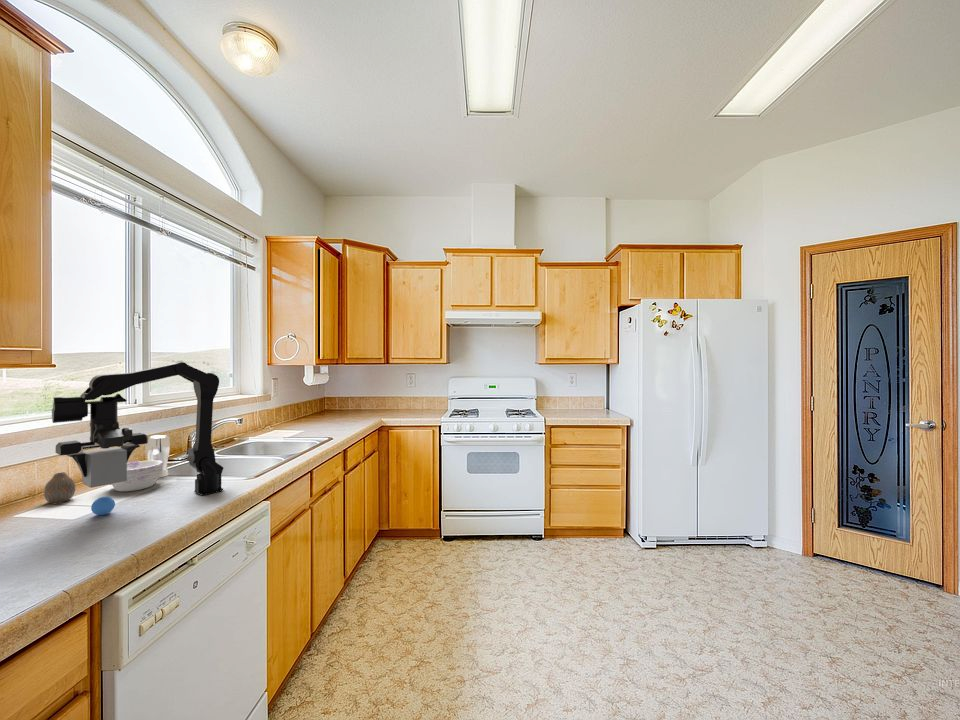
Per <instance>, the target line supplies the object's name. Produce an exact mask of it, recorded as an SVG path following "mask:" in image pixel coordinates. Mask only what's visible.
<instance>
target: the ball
mask: <svg viewBox="0 0 960 720" xmlns="http://www.w3.org/2000/svg"><path fill="white" fill-rule="evenodd" d="M115 506H116V502H115V499H114V498H112V497H111V496H101V497H98V498H97V499H95V500H94V501H93V502H92V504H91V506H90V508H91V512H92V513H93V514H94V515H97V516H105V515H107V514H109V513H111V512H112V511H113V510H114V508H115Z"/></svg>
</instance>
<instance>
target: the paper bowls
mask: <svg viewBox="0 0 960 720" xmlns="http://www.w3.org/2000/svg"><path fill="white" fill-rule="evenodd" d="M161 476H163V462H162V461H157V460H150V461H148V460H140V461H131V462H127V481H123V482H118V483H113V484H108V485H107V486H112V487H113V489H114V490H115V491H118V492H133V491H140V490H144V489H148V488H150V487H152V486H153V485H155V483H156V482H157V480H158V479H159V477H161ZM161 478H162V477H161Z"/></svg>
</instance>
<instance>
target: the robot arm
mask: <svg viewBox="0 0 960 720" xmlns="http://www.w3.org/2000/svg"><path fill="white" fill-rule="evenodd" d="M176 376H179V377H181V378H183V379H185V380H187V381H188V382H190V383H192V384H193V389H194V393H195V397H196V401H197V402H196V403H197V404H196V420H195V421H196V422H195V440H194V441H195V442H194V444H193V446H192V447H191V448H190V447H188V448H187V454H188V455H187V458H186V461H187V462H189V463H188V464H189V465H190V467H191V468H193V469H195V471H196V473H197V474H196V478H195V480H194V490H193V491H194V493H195V492H196V493H195V494H198V493H199V494H198V495H200V494H202V495H201V496H206V495H205V494H207V495H210V494H209V493H211V494H214V493H213V492H215V493H217V492H216V491H219V492H221V491H220V490H223V489H224V488H222V473H223V471H224V466H222V465H221V464H220V463H218V462H217V461H216V456H215V450H214V447H213V444H212V432H213V412H214V411H213V409H214V399H215V397H216V395H217V392H218V390H219V386H220V385H219V384H220V378H219V377H218V376H217V375H216V374H215V373H213V372H206V371H205V372H204V371H202V370H200V369H198V368H195V367H193V366H191V365H189V364H188V363H186V362H183V361H180V362H179V361H178V362H174V363H171V364H166V365H162V366H156V367H152V368H146V369H142V370H137V371H136V370H135V371H133V372H124V373H107V374H105V373H104V374H98V375H95V376H93V377H92V378H91V379H90V381H89V383H88V386H89V387H87V389H86V390H85V391H84V392H82V393H81V394H80V395H79V396H72V397H71V396H68V397H63V396H55V397H53V403H52V409H51V420H52V421H51V422H52V424H56V423H67V422H71V423H72V422H81V421H83V418H86V417H88V416H89V415H90V416H89V417H90V422H89V427H90V428H89V429H90V430H89V431H90V433H89V434H90V435H89V441H85V442H84V441H83V442H81V441H78V440H71V441H70V440H68V441H61V442H58V443H56V445H55V454H57V455H59V456H66V457H70V458H72V459H73V461H74V462H75V464H76V465H77V467H78V469H79V471H80V473H81V475H82V474H83V476H84V477H87V469H86V462H85V455H86V453H83V452H84V450H87V449H94V448H101V449H107V448H114V447H119V448H122V449H125V450H127V462H128V461H129V458H130V457H131V455H132V453H133V452H134V451H135V450H136V449H137V448H140V447H141V445H147V443H148V437H149V436H148V435H147V434H145V433H141V432H135V433H134V432H133V428H132V427H123V428H121V427H120V424H119V421H118V403H125V402H127V401H128V400H127V399H126V398H124V397H123V396H122V395H121V394H120V393H119V392H121V391H124V390H126V389H128V388H130V387H133V386H135V385H140V384H144V383H145V384H146V383H150V382H152V381H154V382H155V381H157V380H161V379H166V378H171V377H176ZM113 394H114V396H111V395H113ZM98 398H100V399H99V400H96V399H98ZM89 405H90V406H89ZM89 407H90V410H89ZM89 411H90V414H89ZM120 428H121V429H120ZM223 491H224V490H223Z"/></svg>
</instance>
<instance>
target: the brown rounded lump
mask: <svg viewBox="0 0 960 720" xmlns="http://www.w3.org/2000/svg"><path fill="white" fill-rule="evenodd" d="M75 493H76V483H75V481H74V479H72V478H71V477H70V476H69V475H68V474H67V473H66V472H56V473H54V474H53V476H52V477H51V478H50V479H49V480H48V482H46V484H45V487H44V489H43V497H44V499H45V501H46V502H47V503H49V504H52V503H56V504H61V503H60V502H62V503H65V502H64V501H66V502H69V500H71V499H72V498H73V497H74V495H75Z"/></svg>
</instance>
